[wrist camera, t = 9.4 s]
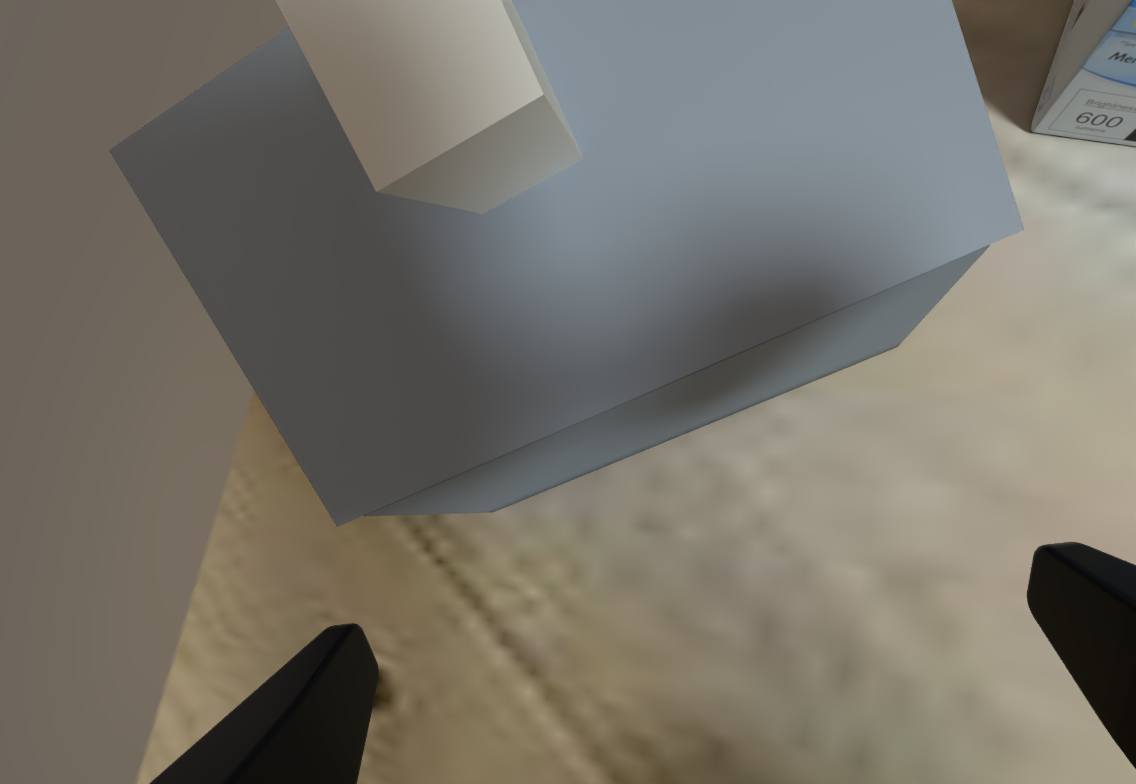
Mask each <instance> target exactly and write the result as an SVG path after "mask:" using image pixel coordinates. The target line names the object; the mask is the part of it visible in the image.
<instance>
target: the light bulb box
mask: <svg viewBox="0 0 1136 784" xmlns="http://www.w3.org/2000/svg"><path fill="white" fill-rule="evenodd" d="M1031 131H1032V132H1036V133H1042V134H1049V135H1056V136H1064V137H1071V138H1078V139H1086V140H1094V141H1101V142H1108V143H1115V144H1122V145H1129V146H1136V0H1074V2H1073V5H1072V8H1071V11H1070V13H1069V16H1068V19H1067V22H1066V25H1065V27H1064V30H1063V33H1062V36H1061V39H1060V42H1059V45H1058V48H1057V51H1056V53H1055V56H1054V59H1053V62H1052V65H1051V68H1050V71H1049V74H1048V76H1047V79H1046V82H1045V85H1044V88H1043V91H1042V94H1041V97H1040V100H1039V103H1038V105H1037V108H1036V111H1035V114H1034V117H1033V121H1032V125H1031Z"/></svg>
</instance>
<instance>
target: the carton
mask: <svg viewBox="0 0 1136 784" xmlns="http://www.w3.org/2000/svg"><path fill="white" fill-rule="evenodd" d="M989 246H990V245H987V246H985V247H982V248H980V249H978V250H976V251H973V252H971V253H969V254H966V255H964V256H962V257H959V258H957V259H955V260H952V261H950V262H948V263H945V264H943V265H941V266H939V267H936V268H934V269H932V270H929V271H927V272H925V273H922V274H920V275H918V276H915V277H913V278H911V279H908V280H906V281H904V282H902V283H899V284H897V285H895V286H892V287H890V288H888V289H885V290H883V291H881V292H878V293H876V294H874V295H871V296H869V297H867V298H865V299H862V300H860V301H858V302H855V303H853V304H851V305H848V306H846V307H844V308H841V309H839V310H837V311H834V312H832V313H830V314H828V315H825V316H823V317H821V318H818V319H816V320H814V321H811V322H809V323H807V324H804V325H802V326H800V327H797V328H795V329H793V330H790V331H788V332H786V333H784V334H781V335H779V336H777V337H774V338H772V339H770V340H767V341H765V342H763V343H760V344H758V345H756V346H753V347H751V348H749V349H747V350H744V351H742V352H740V353H737V354H735V355H733V356H730V357H728V358H726V359H723V360H721V361H719V362H716V363H714V364H712V365H710V366H707V367H705V368H703V369H700V370H698V371H696V372H693V373H691V374H689V375H686V376H684V377H682V378H679V379H677V380H675V381H673V382H670V383H668V384H666V385H663V386H661V387H659V388H656V389H654V390H652V391H649V392H647V393H645V394H642V395H640V396H638V397H636V398H633V399H631V400H629V401H626V402H624V403H622V404H619V405H617V406H615V407H612V408H610V409H608V410H605V411H603V412H601V413H599V414H596V415H594V416H592V417H589V418H587V419H585V420H582V421H580V422H578V423H575V424H573V425H571V426H568V427H566V428H564V429H562V430H559V431H557V432H555V433H552V434H550V435H548V436H545V437H543V438H541V439H538V440H536V441H534V442H531V443H529V444H527V445H525V446H522V447H520V448H518V449H515V450H513V451H511V452H508V453H506V454H504V455H501V456H499V457H497V458H494V459H492V460H490V461H488V462H485V463H483V464H481V465H478V466H476V467H474V468H471V469H469V470H467V471H464V472H462V473H460V474H457V475H455V476H453V477H451V478H448V479H446V480H444V481H441V482H439V483H437V484H434V485H432V486H430V487H427V488H425V489H423V490H420V491H418V492H416V493H413V494H411V495H409V496H407V497H404V498H402V499H400V500H397V501H395V502H393V503H390V504H388V505H386V506H383V507H381V508H379V509H376V510H374V511H372V512H370V513H367V514H365V515H363V516H383V515H417V514H451V513H485V512H495V511H497V510H499V509H502V508H504V507H507V506H509V505H512V504H514V503H517V502H519V501H521V500H524V499H526V498H529V497H531V496H534V495H536V494H539V493H541V492H543V491H546V490H548V489H551V488H553V487H556V486H558V485H561V484H563V483H565V482H568V481H570V480H573V479H575V478H578V477H580V476H583V475H585V474H587V473H590V472H592V471H595V470H597V469H600V468H602V467H605V466H607V465H610V464H612V463H614V462H617V461H619V460H622V459H624V458H627V457H629V456H632V455H634V454H636V453H639V452H641V451H644V450H646V449H649V448H651V447H654V446H656V445H658V444H661V443H663V442H666V441H668V440H671V439H673V438H676V437H678V436H680V435H683V434H685V433H688V432H690V431H693V430H695V429H698V428H700V427H702V426H705V425H707V424H710V423H712V422H715V421H717V420H720V419H722V418H724V417H727V416H729V415H732V414H734V413H737V412H739V411H742V410H744V409H747V408H749V407H751V406H754V405H756V404H759V403H761V402H764V401H766V400H769V399H771V398H773V397H776V396H778V395H781V394H783V393H786V392H788V391H791V390H793V389H795V388H798V387H800V386H803V385H805V384H808V383H810V382H813V381H815V380H817V379H820V378H822V377H825V376H827V375H830V374H832V373H835V372H837V371H839V370H842V369H844V368H847V367H849V366H852V365H854V364H857V363H859V362H861V361H864V360H866V359H869V358H871V357H874V356H876V355H879V354H881V353H883V352H886V351H888V350H891V349H893V348H896V347H898V346H899V345H900V344H901V342H902V341H903V340H904V339H905V338H906V337H907V336H908V335H909V334H910V333H911V331H912V330H913V329H914V328H915V327H916V326H917V325H918V324H919V323H920V322H921V321H922V319H923V318H924V317H925V316H926V315H927V314H928V313H929V312H930V311H931V310H932V308H933V307H934V306H935V305H936V304H937V303H938V302H939V301H940V300H941V299H942V298H943V296H944V295H945V294H946V293H947V292H948V291H949V290H950V289H951V288H952V287H953V285H954V284H955V283H956V282H957V281H958V280H959V279H960V278H961V277H962V276H963V275H964V273H965V272H966V271H967V270H968V269H969V268H970V267H971V266H972V265H973V264H974V262H975V261H976V260H977V259H978V258H979V257H980V256H981V255H982V254H983V253H984V252H985V250H986V249H987V248H988V247H989Z"/></svg>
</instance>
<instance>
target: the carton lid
mask: <svg viewBox="0 0 1136 784" xmlns="http://www.w3.org/2000/svg"><path fill="white" fill-rule="evenodd" d="M276 2H277V4H278V6H279V8H280V10H281V12H282V14H283V15H284V17H285V19H286V21H287V23H288V25H289V27H288V28H286V29H285V30H283V31H282V32H281V33H279V34H278V35H276V36H275V37H273V38H272V39H271V40H269V41H267V42H266V43H264V44H263V45H262V46H260V47H259V48H257V49H256V50H254V51H253V52H251V53H250V54H248V55H247V56H246V57H244V58H243V59H241V60H240V61H238V62H237V63H235V64H234V65H232V66H231V67H230V68H228V69H227V70H225V71H224V72H222V73H221V74H220V75H218V76H217V77H215V78H214V79H212V80H211V81H209V82H208V83H206V84H205V85H203V86H202V87H200V88H199V89H198V90H196V91H195V92H193V93H192V94H190V95H189V96H187V97H186V98H184V99H183V100H182V101H180V102H179V103H177V104H176V105H174V106H173V107H171V108H170V109H169V110H167V111H166V112H164V113H163V114H161V115H160V116H158V117H157V118H155V119H154V120H153V121H151V122H150V123H148V124H147V125H145V126H144V127H142V128H141V129H139V130H138V131H137V132H135V133H134V134H132V135H131V136H129V137H128V138H127V139H125V140H123V141H122V142H120V143H119V144H118V145H116V146H115V147H113V148H112V149H110V150H109V151H110V153H111V154H112V156H113V157H114V159H115V161H116V163H117V164H118V166H119V167H120V169H121V171H122V172H123V174H124V176H125V177H126V179H127V181H128V182H129V184H130V186H131V187H132V189H133V191H134V192H135V194H136V195H137V197H138V199H139V200H140V202H141V204H142V205H143V207H144V209H145V210H146V212H147V214H148V215H149V216H150V219H151V220H152V222H153V224H154V225H155V227H156V229H157V230H158V232H159V234H160V235H161V237H162V238H163V240H164V242H165V243H166V245H167V247H168V248H169V250H170V252H171V253H172V255H173V257H174V258H175V260H176V262H177V263H178V265H179V267H180V268H181V270H182V271H183V273H184V275H185V276H186V278H187V280H188V281H189V283H190V285H191V286H192V288H193V290H194V291H195V293H196V295H197V296H198V298H199V300H200V301H201V302H202V304H203V306H204V308H205V309H206V311H207V313H208V314H209V316H210V318H211V319H212V321H213V323H214V324H215V326H216V328H217V329H218V331H219V332H220V334H221V336H222V337H223V339H224V341H225V342H226V344H227V346H228V347H229V349H230V351H231V352H232V354H233V355H234V357H235V359H236V361H237V362H238V364H239V365H240V367H241V369H242V370H243V372H244V374H245V375H246V377H247V379H248V380H249V382H250V384H251V385H252V387H253V389H254V390H255V392H256V394H257V395H258V397H259V399H260V400H261V402H262V403H263V405H264V407H265V408H266V410H267V412H268V413H269V415H270V417H271V418H272V420H273V422H274V423H275V425H276V427H277V428H278V430H279V432H280V433H281V435H282V437H283V438H284V440H285V441H286V443H287V445H288V446H289V448H290V450H291V451H292V453H293V455H294V456H295V458H296V460H297V461H298V463H299V465H300V466H301V468H302V470H303V471H304V473H305V474H306V476H307V478H308V479H309V481H310V483H311V484H312V486H313V488H314V489H315V491H316V493H317V494H318V496H319V498H320V499H321V501H322V503H323V504H324V506H325V507H326V509H327V511H328V512H329V514H330V516H331V517H332V519H333V521H334V522H335V524H336V526H339V525H342V524H344V523H346V522H349V521H351V520H353V519H356V518H358V517H360V516H363V515H365V514H367V513H370V512H372V511H374V510H376V509H379V508H381V507H383V506H386V505H388V504H390V503H393V502H395V501H397V500H400V499H402V498H404V497H407V496H409V495H411V494H413V493H416V492H418V491H420V490H423V489H425V488H427V487H430V486H432V485H434V484H437V483H439V482H441V481H444V480H446V479H448V478H451V477H453V476H455V475H457V474H460V473H462V472H464V471H467V470H469V469H471V468H474V467H476V466H478V465H481V464H483V463H485V462H488V461H490V460H492V459H494V458H497V457H499V456H501V455H504V454H506V453H508V452H511V451H513V450H515V449H518V448H520V447H522V446H525V445H527V444H529V443H531V442H534V441H536V440H538V439H541V438H543V437H545V436H548V435H550V434H552V433H555V432H557V431H559V430H562V429H564V428H566V427H568V426H571V425H573V424H575V423H578V422H580V421H582V420H585V419H587V418H589V417H592V416H594V415H596V414H599V413H601V412H603V411H605V410H608V409H610V408H612V407H615V406H617V405H619V404H622V403H624V402H626V401H629V400H631V399H633V398H636V397H638V396H640V395H642V394H645V393H647V392H649V391H652V390H654V389H656V388H659V387H661V386H663V385H666V384H668V383H670V382H673V381H675V380H677V379H679V378H682V377H684V376H686V375H689V374H691V373H693V372H696V371H698V370H700V369H703V368H705V367H707V366H710V365H712V364H714V363H716V362H719V361H721V360H723V359H726V358H728V357H730V356H733V355H735V354H737V353H740V352H742V351H744V350H747V349H749V348H751V347H753V346H756V345H758V344H760V343H763V342H765V341H767V340H770V339H772V338H774V337H777V336H779V335H781V334H784V333H786V332H788V331H790V330H793V329H795V328H797V327H800V326H802V325H804V324H807V323H809V322H811V321H814V320H816V319H818V318H821V317H823V316H825V315H828V314H830V313H832V312H834V311H837V310H839V309H841V308H844V307H846V306H848V305H851V304H853V303H855V302H858V301H860V300H862V299H865V298H867V297H869V296H871V295H874V294H876V293H878V292H881V291H883V290H885V289H888V288H890V287H892V286H895V285H897V284H899V283H902V282H904V281H906V280H908V279H911V278H913V277H915V276H918V275H920V274H922V273H925V272H927V271H929V270H932V269H934V268H936V267H939V266H941V265H943V264H945V263H948V262H950V261H952V260H955V259H957V258H959V257H962V256H964V255H966V254H969V253H971V252H973V251H976V250H978V249H980V248H982V247H985V246H987V245H989V244H992V243H994V242H996V241H999V240H1001V239H1003V238H1006V237H1008V236H1010V235H1013V234H1015V233H1017V232H1019V231H1022V230H1024V228H1023V224H1022V221H1021V218H1020V215H1019V212H1018V209H1017V205H1016V202H1015V199H1014V196H1013V193H1012V189H1011V186H1010V183H1009V180H1008V177H1007V174H1006V170H1005V167H1004V164H1003V161H1002V158H1001V155H1000V151H999V148H998V145H997V142H996V139H995V136H994V132H993V129H992V126H991V123H990V120H989V117H988V113H987V110H986V107H985V104H984V101H983V98H982V94H981V91H980V88H979V85H978V82H977V78H976V75H975V72H974V69H973V66H972V63H971V59H970V56H969V53H968V50H967V47H966V44H965V40H964V37H963V34H962V31H961V28H960V25H959V21H958V18H957V15H956V12H955V9H954V6H953V2H952V0H276Z"/></svg>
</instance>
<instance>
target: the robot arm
mask: <svg viewBox="0 0 1136 784" xmlns="http://www.w3.org/2000/svg"><path fill="white" fill-rule="evenodd" d="M1027 602H1028V605H1029V608H1030V611H1031V613H1032V615H1033V616H1034V618H1035V620H1036V621H1037V623H1038V624H1039V626H1040V627H1041V629H1042V631H1043V632H1044V634H1045V635H1046V637H1047V638H1048V640H1049V641H1050V643H1051V645H1052V646H1053V648H1054V649H1055V651H1056V652H1057V654H1058V655H1059V657H1060V659H1061V660H1062V662H1063V663H1064V665H1065V666H1066V668H1067V669H1068V671H1069V673H1070V674H1071V676H1072V677H1073V679H1074V680H1075V682H1076V683H1077V685H1078V687H1079V688H1080V690H1081V691H1082V693H1083V694H1084V696H1085V697H1086V699H1087V701H1088V702H1089V704H1090V705H1091V707H1092V708H1093V710H1094V711H1095V713H1096V714H1097V716H1098V718H1099V719H1100V720H1101V722H1102V723H1103V725H1104V726H1105V728H1106V729H1107V731H1108V732H1109V734H1110V735H1111V737H1112V738H1113V739H1114V741H1115V742H1116V743H1117V745H1118V746H1119V747H1120V749H1121V750H1122V751H1123V753H1124V754H1125V756H1126V757H1127V758H1128V760H1129V761H1130V762H1131V763H1132V765H1133V766H1134V767H1135V769H1136V565H1134V564H1132V563H1129V562H1127V561H1124V560H1122V559H1119V558H1117V557H1114V556H1112V555H1109V554H1107V553H1104V552H1102V551H1099V550H1097V549H1094V548H1092V547H1089V546H1087V545H1084V544H1081V543H1078V542H1064V543H1056V544H1047V545H1042V546H1040V547H1038V548H1037V550H1036V551H1035V552H1034V556H1033V561H1032V567H1031V573H1030V578H1029V584H1028V590H1027ZM378 677H379V670H378V664H377V661H376V659H375V656H374V654H373V652H372V650H371V647H370V645H369V643H368V641H367V638H366V636H365V634H364V632H363V630H362V628H361V627H360V626H359V625H358V624H354V623H351V624H342V625H334V626H330V627H328V628H326V629H325V630H324V631H323V632H322V633H320V634H319V635H318V636H317V637H316V638H315V639H314V640H312V641H311V642H310V643H309V644H308V645H307V646H306V647H304V648H303V649H302V650H301V651H300V652H299V653H298V654H296V655H295V656H294V657H293V658H292V659H291V660H290V661H289V662H287V663H286V664H285V665H284V666H283V667H282V668H281V669H279V670H278V671H277V672H276V673H275V674H274V675H273V676H271V677H270V678H269V679H268V680H267V681H266V682H265V683H263V684H262V685H261V686H260V687H259V688H258V689H257V690H255V691H254V692H253V693H252V694H251V695H250V696H249V697H248V698H246V699H245V700H244V701H243V702H242V703H241V704H240V705H238V706H237V707H236V708H235V709H234V710H233V711H232V712H230V713H229V714H228V715H227V716H226V717H225V718H224V719H222V720H221V721H220V722H219V723H218V724H217V725H216V726H214V727H213V728H212V729H211V730H210V731H209V732H208V733H207V734H205V735H204V736H203V737H202V738H201V739H200V740H199V741H197V742H196V743H195V744H194V745H193V746H192V747H191V748H189V749H188V750H187V751H186V752H185V753H184V754H183V755H181V756H180V757H179V758H178V759H177V760H176V761H175V762H173V763H172V764H171V765H170V766H169V767H168V768H167V769H165V770H164V771H163V772H162V773H161V774H160V775H159V776H157V777H156V778H155V779H154V780H153V781H152V782H151V783H150V784H357V780H358V775H359V770H360V766H361V761H362V756H363V751H364V747H365V742H366V737H367V732H368V727H369V723H370V718H371V713H372V708H373V703H374V699H375V694H376V689H377V684H378Z"/></svg>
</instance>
